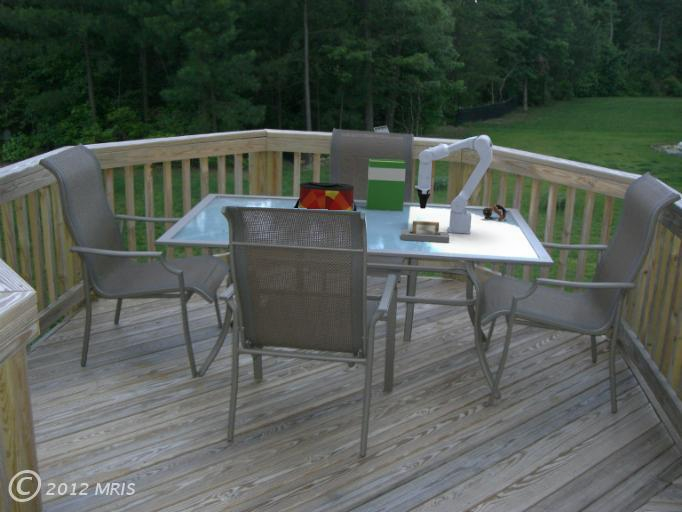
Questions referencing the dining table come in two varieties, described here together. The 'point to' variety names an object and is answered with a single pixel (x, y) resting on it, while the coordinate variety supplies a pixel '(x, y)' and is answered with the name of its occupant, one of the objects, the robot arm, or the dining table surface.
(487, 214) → the dark brown curved piece
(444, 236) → the panel with rectangular hole
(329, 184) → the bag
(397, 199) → the hardback book
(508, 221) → the dining table surface
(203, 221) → the dining table surface
